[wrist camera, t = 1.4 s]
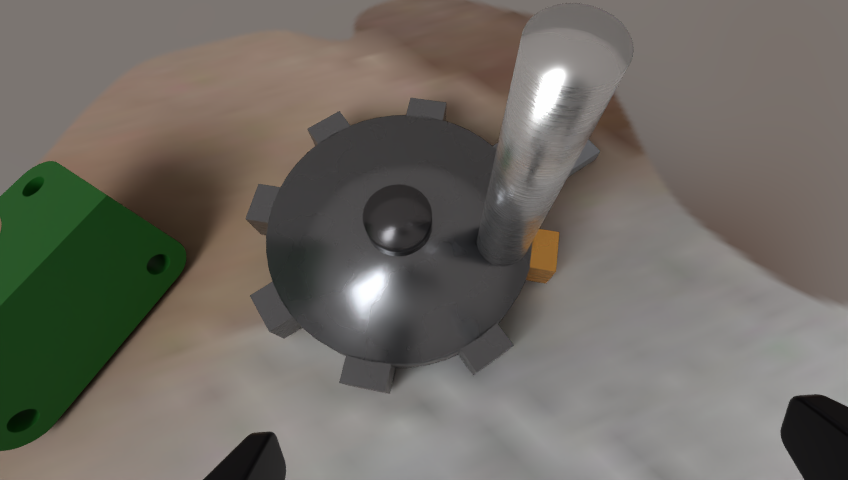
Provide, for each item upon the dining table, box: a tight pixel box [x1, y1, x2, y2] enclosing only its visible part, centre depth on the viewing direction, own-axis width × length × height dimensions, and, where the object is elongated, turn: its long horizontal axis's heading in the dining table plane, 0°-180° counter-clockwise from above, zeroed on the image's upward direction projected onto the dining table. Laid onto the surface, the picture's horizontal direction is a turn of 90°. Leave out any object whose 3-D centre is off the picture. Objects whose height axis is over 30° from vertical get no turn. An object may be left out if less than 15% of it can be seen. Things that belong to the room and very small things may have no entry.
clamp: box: [0, 161, 186, 451], centre depth 20 cm, size 12×6×9 cm, turn 143°
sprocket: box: [246, 3, 633, 394], centre depth 16 cm, size 15×15×14 cm
